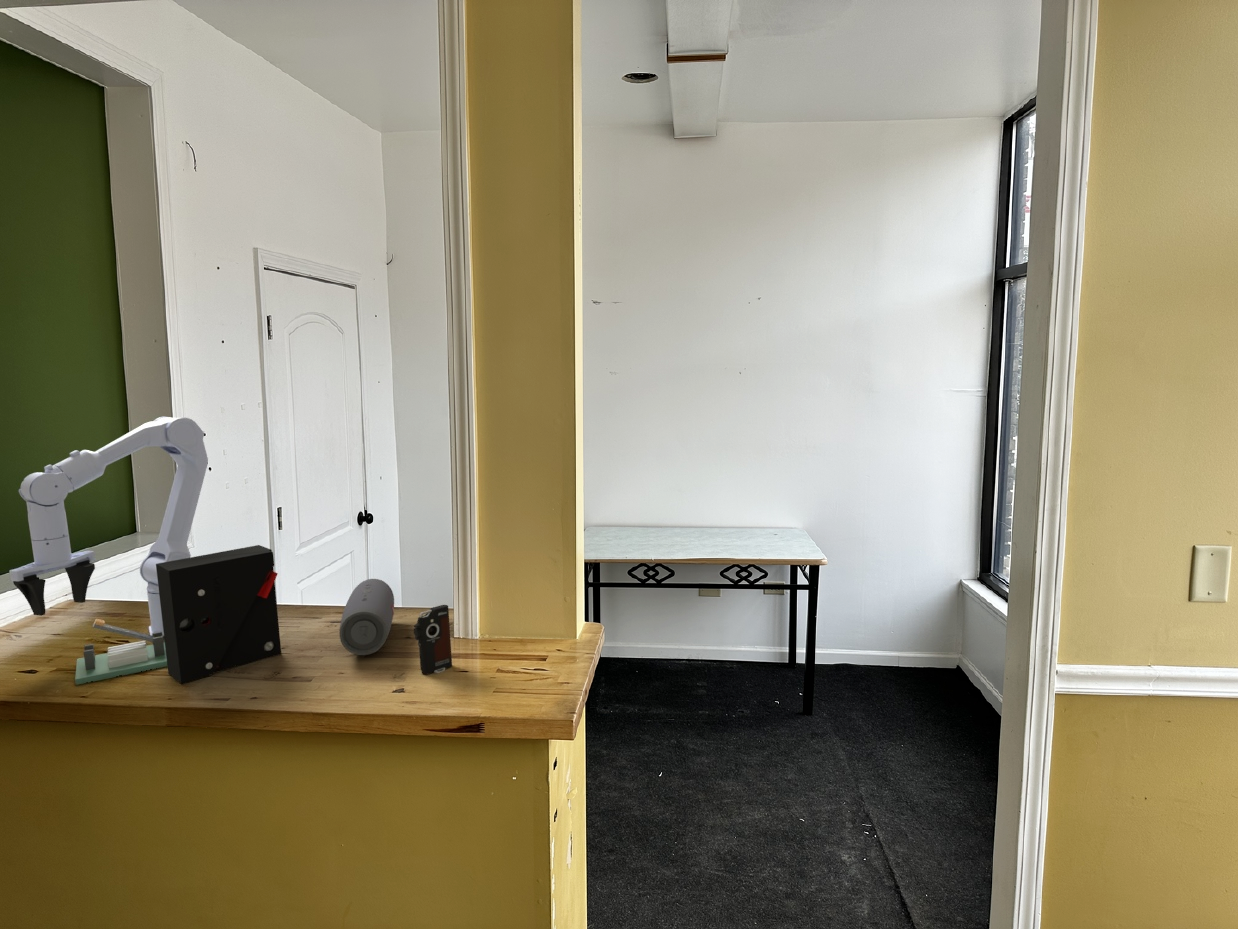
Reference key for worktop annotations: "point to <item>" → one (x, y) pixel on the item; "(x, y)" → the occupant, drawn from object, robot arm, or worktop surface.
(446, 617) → the camera
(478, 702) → the worktop surface
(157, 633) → the heatsink base
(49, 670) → the worktop surface
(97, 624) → the bar
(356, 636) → the bluetooth speaker
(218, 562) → the electrical component
